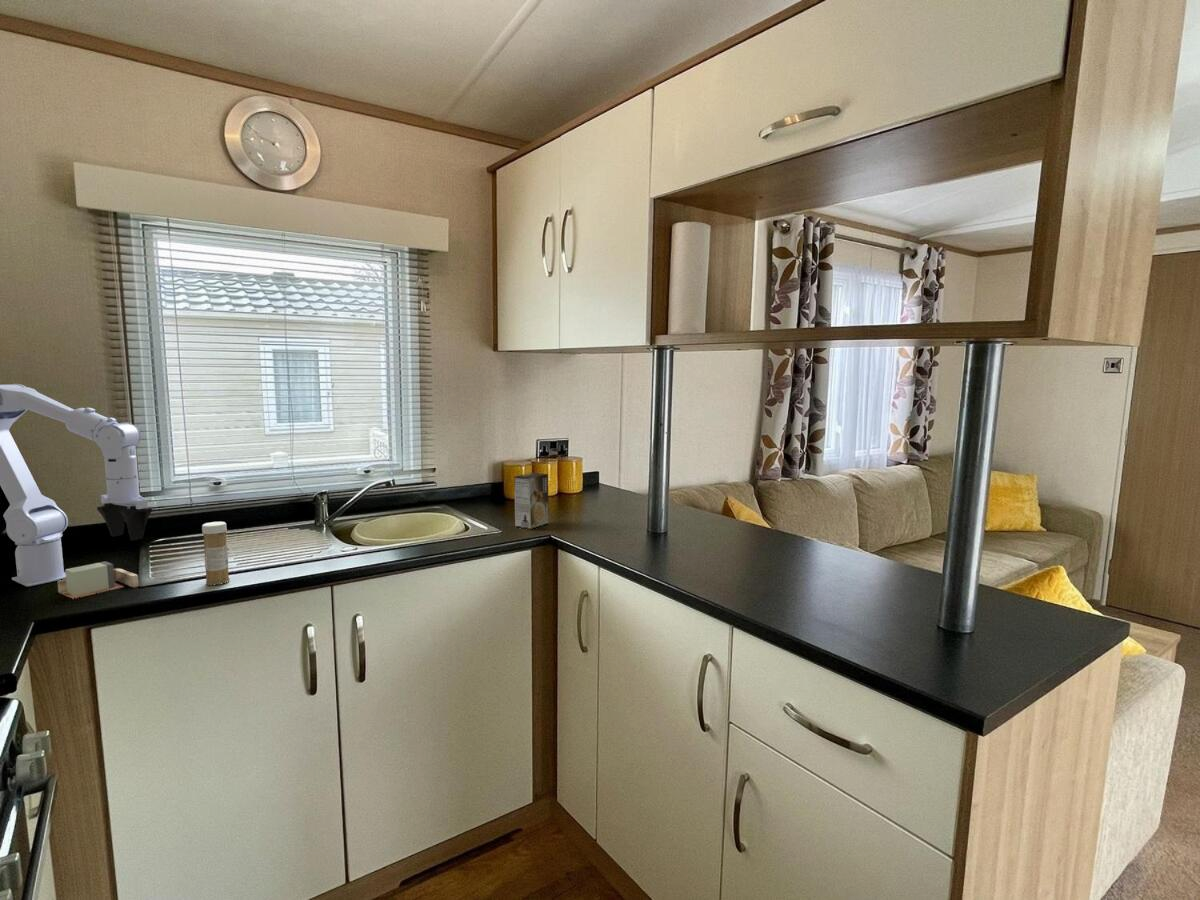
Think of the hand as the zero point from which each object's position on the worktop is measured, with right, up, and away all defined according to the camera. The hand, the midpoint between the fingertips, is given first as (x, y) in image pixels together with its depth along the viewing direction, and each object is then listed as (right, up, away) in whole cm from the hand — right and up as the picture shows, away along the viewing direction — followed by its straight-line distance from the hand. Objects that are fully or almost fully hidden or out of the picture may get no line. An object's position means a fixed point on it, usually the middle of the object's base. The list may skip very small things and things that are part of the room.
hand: (127, 537), depth 142 cm
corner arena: (-1, -10, -6) cm, 12 cm away
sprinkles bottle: (+22, -10, -2) cm, 24 cm away
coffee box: (+85, -4, +53) cm, 101 cm away
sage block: (-2, -10, -7) cm, 13 cm away
